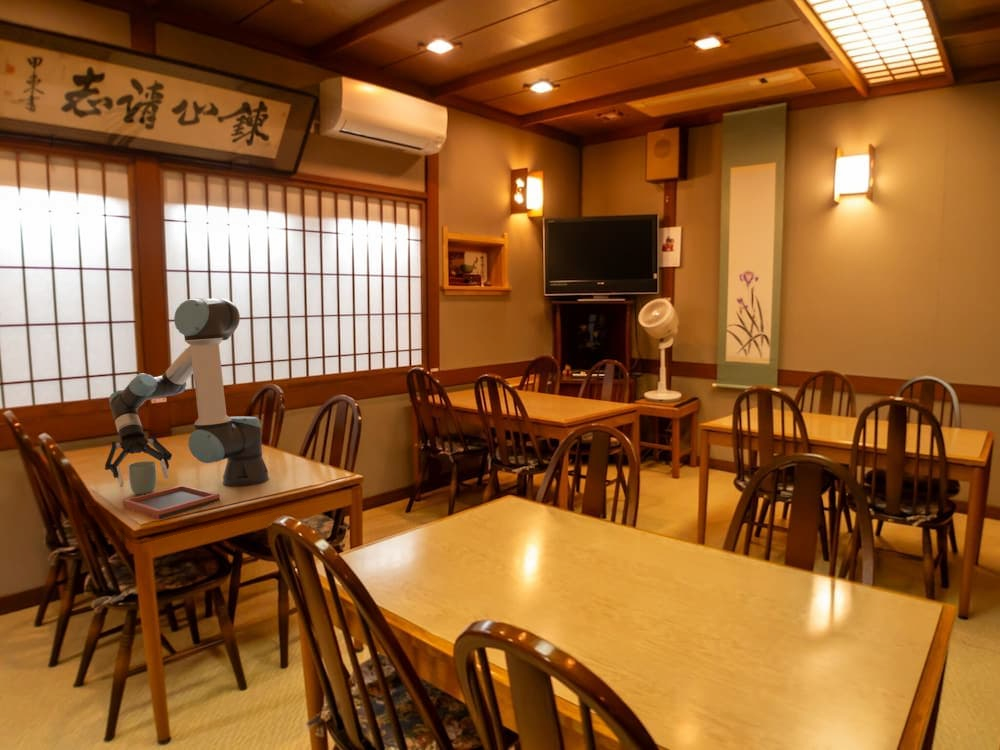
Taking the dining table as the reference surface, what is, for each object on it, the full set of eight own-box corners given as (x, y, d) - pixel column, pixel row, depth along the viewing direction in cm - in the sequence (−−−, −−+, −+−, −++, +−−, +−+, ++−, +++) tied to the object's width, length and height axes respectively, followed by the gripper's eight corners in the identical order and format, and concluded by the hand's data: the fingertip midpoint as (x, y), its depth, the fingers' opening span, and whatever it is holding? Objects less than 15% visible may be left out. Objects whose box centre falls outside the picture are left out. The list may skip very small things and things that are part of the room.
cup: (162, 490, 226) (159, 461, 225) (147, 496, 218) (145, 467, 217) (140, 489, 227) (138, 461, 226) (125, 496, 219) (123, 466, 218)
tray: (219, 501, 213) (219, 494, 213) (158, 519, 196) (158, 511, 196) (183, 491, 224) (183, 484, 224) (123, 507, 207) (122, 500, 207)
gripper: (167, 431, 240) (182, 479, 231) (87, 441, 224) (100, 494, 214) (170, 418, 236) (186, 467, 226) (89, 428, 219) (103, 481, 210)
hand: (144, 480), depth 220 cm, fingers open, 13 cm apart
